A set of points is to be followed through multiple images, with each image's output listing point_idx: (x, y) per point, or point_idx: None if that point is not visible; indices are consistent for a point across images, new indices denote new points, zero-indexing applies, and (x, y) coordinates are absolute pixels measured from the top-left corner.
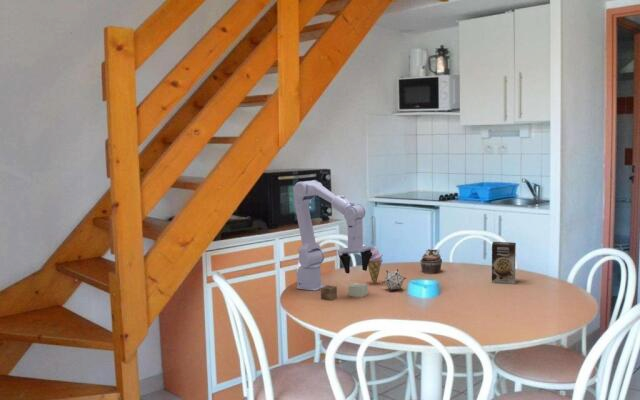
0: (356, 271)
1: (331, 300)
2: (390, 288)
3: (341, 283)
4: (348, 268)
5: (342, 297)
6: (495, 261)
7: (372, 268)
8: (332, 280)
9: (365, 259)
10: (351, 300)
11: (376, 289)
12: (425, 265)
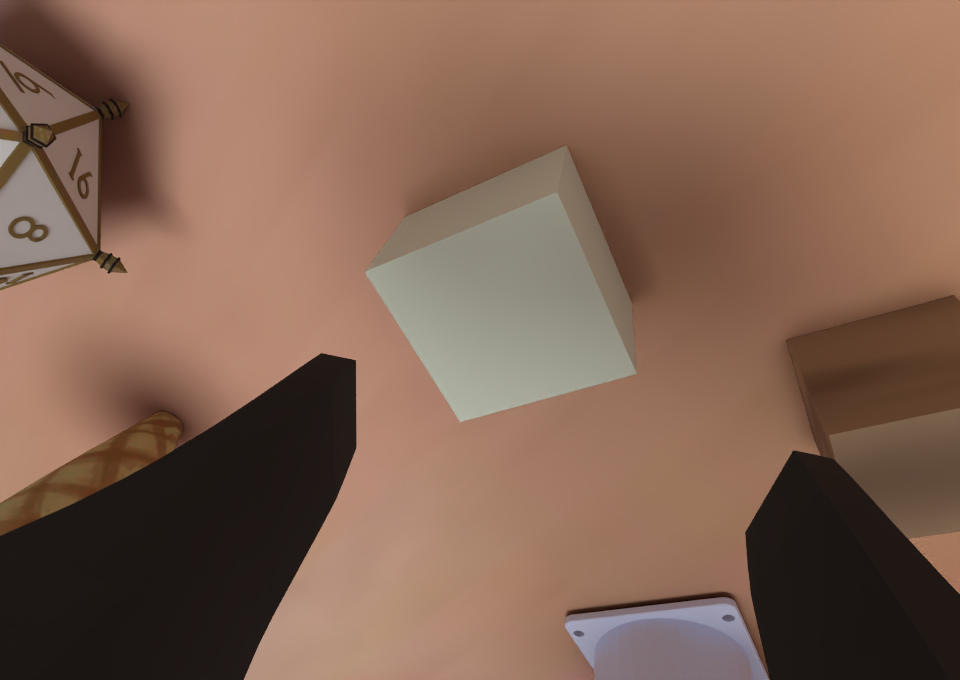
0: None
1: (950, 296)
2: (92, 112)
3: (405, 585)
4: (896, 551)
5: (738, 303)
6: None
7: None
8: (413, 655)
9: (182, 606)
10: (780, 117)
11: (233, 280)
12: None
